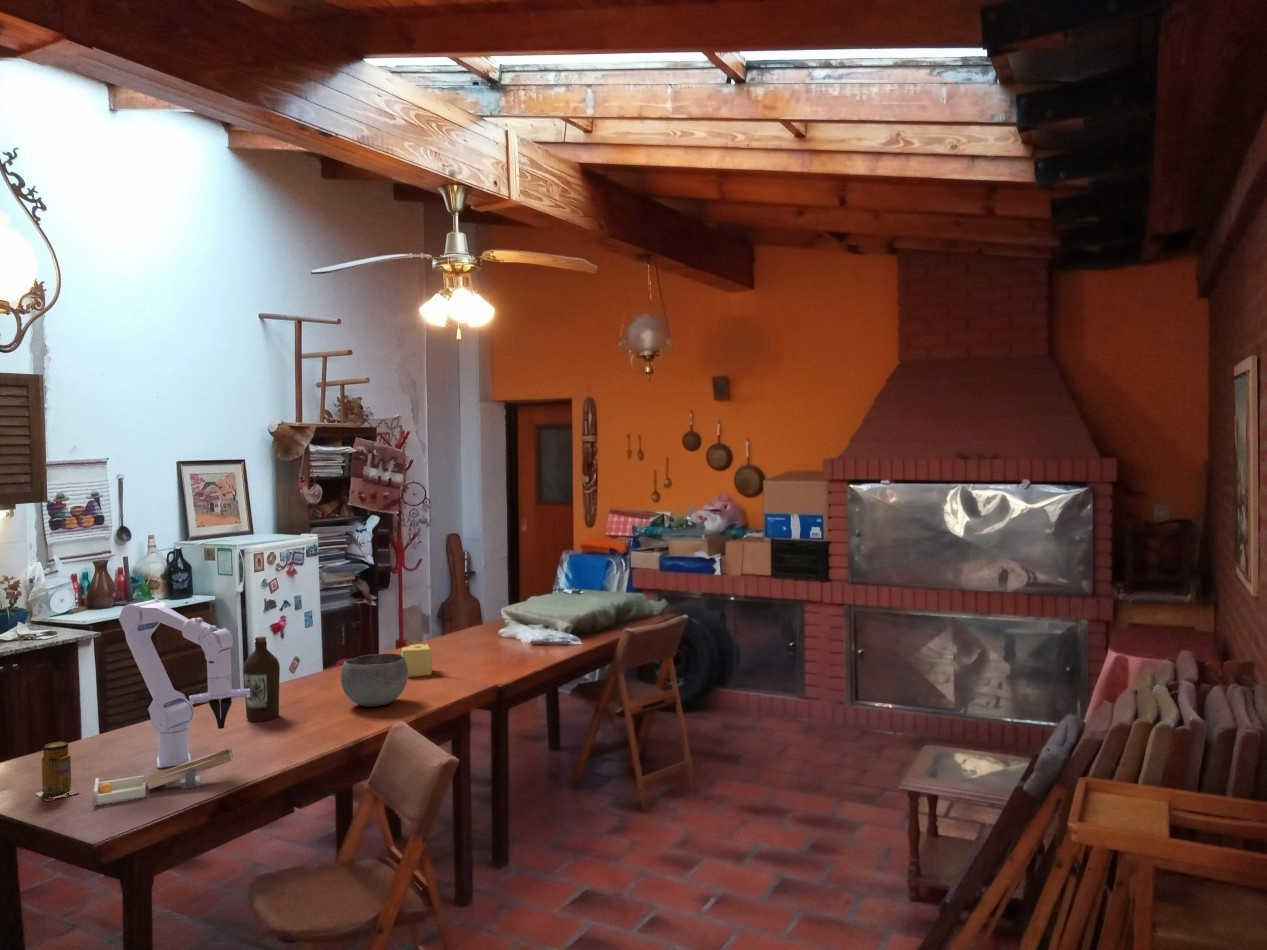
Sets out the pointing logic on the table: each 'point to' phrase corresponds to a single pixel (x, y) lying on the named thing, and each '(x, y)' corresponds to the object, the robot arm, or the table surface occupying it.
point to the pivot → (190, 780)
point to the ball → (105, 788)
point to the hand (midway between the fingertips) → (220, 727)
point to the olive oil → (262, 683)
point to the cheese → (418, 659)
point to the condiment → (55, 770)
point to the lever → (189, 768)
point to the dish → (120, 790)
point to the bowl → (374, 678)
